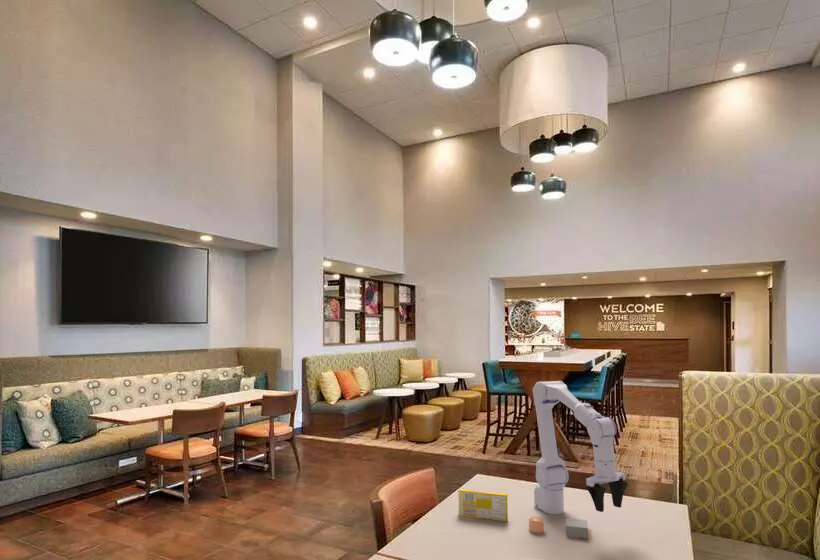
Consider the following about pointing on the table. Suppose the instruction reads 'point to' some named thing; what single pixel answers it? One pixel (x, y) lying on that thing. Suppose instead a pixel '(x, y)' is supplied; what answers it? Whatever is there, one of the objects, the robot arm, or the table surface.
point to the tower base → (588, 535)
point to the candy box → (483, 504)
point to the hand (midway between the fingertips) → (608, 508)
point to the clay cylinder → (536, 525)
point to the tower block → (576, 528)
